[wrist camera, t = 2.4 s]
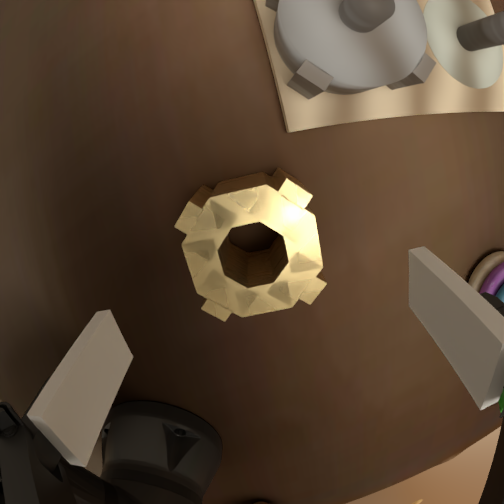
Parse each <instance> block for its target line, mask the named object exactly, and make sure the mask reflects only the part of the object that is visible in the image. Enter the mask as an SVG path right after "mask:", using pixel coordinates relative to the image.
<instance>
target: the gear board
mask: <svg viewBox="0 0 504 504" xmlns="http://www.w3.org/2000/svg"><path fill="white" fill-rule="evenodd" d="M253 1H254V5H255V8H256V12H257V15H258V19H259V22H260V26H261V30H262V33H263V37H264V41H265V44H266V48H267V52H268V56H269V60H270V64H271V68H272V72H273V75H274V80H275V84H276V88H277V92H278V96H279V100H280V104H281V109H282V113H283V117H284V122H285V126H286V131H287V133H289V132H295V131H300V130H306V129H312V128H317V127H323V126H330V125H336V124H343V123H350V122H357V121H365V120H373V119H381V118H390V117H400V116H411V115H423V114H438V113H456V112H504V11H502V12H499V13H496V14H494V11H493V8H492V5H491V3H490V0H253Z"/></svg>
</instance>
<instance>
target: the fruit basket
mask: <svg viewBox="0 0 504 504" xmlns="http://www.w3.org/2000/svg"><path fill="white" fill-rule="evenodd" d="M498 402H499V405H500V412H502V410H503V408H504V389H503V391H502V394H501V396H500V399H499V401H498Z"/></svg>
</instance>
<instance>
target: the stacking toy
mask: <svg viewBox="0 0 504 504" xmlns="http://www.w3.org/2000/svg"><path fill="white" fill-rule="evenodd" d="M468 284H469V285H470V286H471V287H472V288H474V289H475V290H476V291H477V292H478V293H479V294H481V293H484V292H487V293H489V294H492V295H494V296H496V297H498V298H499V299H500V300H501V301H502V302H503V303H504V251H498V252H494V253H492V254H490V255H488V256H487V257H485V258H484V259H483V260H482V261H481V262H480V263H479V264H478V265H477V267H476V268H475V270H474V271H473V273H472V275H471V277H470V279H469V282H468Z"/></svg>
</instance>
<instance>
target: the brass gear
mask: <svg viewBox="0 0 504 504" xmlns="http://www.w3.org/2000/svg"><path fill="white" fill-rule="evenodd" d="M312 197H313V195H312V194H311V193H310V192H309V191H308V190H307V189H306V188H305V187H304V186H303V185H302V184H301V182H300V181H299V180H297V179H296V178H294V177H293V176H291V175H290V174H288V173H287V172H285V171H283V170H282V169H280V168H279V167H278V168H277V170H276V171H275V173H274V174H273V176H272V177H270V176H269V175H267V174H266V173H264V172H259V173H255V174H250V175H246V176H241V177H237V178H233V179H228V180H224V181H220V182H219V183H218V184H217V186H216V187H215V189H214V190H213V189H211V188H209V187H208V186H206V185H204V184H203V185H202V186H201V188H200V189H199V190H198V191H197V192H196V193H195V194H194V196H193V197H192V198H191V199H190V200H189V202H188V203H187V205H186V207H185V209H184V210H183V212H182V214H181V216H180V217H179V219H178V221H177V223H176V225H175V226H174V227H175V228H177V229H179V230H180V231H182V232H184V233H186V234H187V236H186V238H185V239H184V241H183V243H182V248H183V251H184V255H185V258H186V261H187V264H188V267H189V270H190V273H191V276H192V279H193V282H194V285H195V288H196V291H197V293H198V294H199V295H201V296H203V297H204V299H203V303H202V307H201V309H202V310H204V311H205V312H207V313H209V314H211V315H213V316H215V317H217V318H219V319H221V320H222V321H224V322H225V321H226V320H227V318H228V317H229V315H230V314H231V313H232V312H233V313H235V314H237V315H238V316H240V317H247V316H252V315H257V314H262V313H267V312H272V311H277V310H282V309H287V308H292V307H293V306H294V304H295V303H296V302H297V301H298V299H301V300H302V301H304V302H306V303H308V304H310V305H311V303H312V302H313V301H314V300H315V298H316V297H317V296H318V294H319V293H320V292H321V291H322V289H323V288H324V287H325V286H326V284H327V282H326V280H325V278H324V276H323V274H322V272H321V269H322V268H323V263H322V257H321V250H320V244H319V238H318V232H317V226H316V220H315V215H314V214H313V213H312V211H311V210H310V208H309V207H308V206H307V204H308V203H309V201H310V200H311V198H312ZM255 222H261V223H263V224H265V225H266V226H268V227H270V228H271V229H273V230H274V231H276V232H278V233H279V235H278V236H277V238H276V239H275V240H274V242H273V243H272V245H271V246H270V248H269V249H265V250H261V251H256V252H251V253H247V252H245V251H244V250H242V249H240V248H239V247H237V246H235V245H233V244H232V243H230V240H229V236H228V233H229V231H230V229H231V228H233V227H237V226H242V225H246V224H251V223H255Z"/></svg>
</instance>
